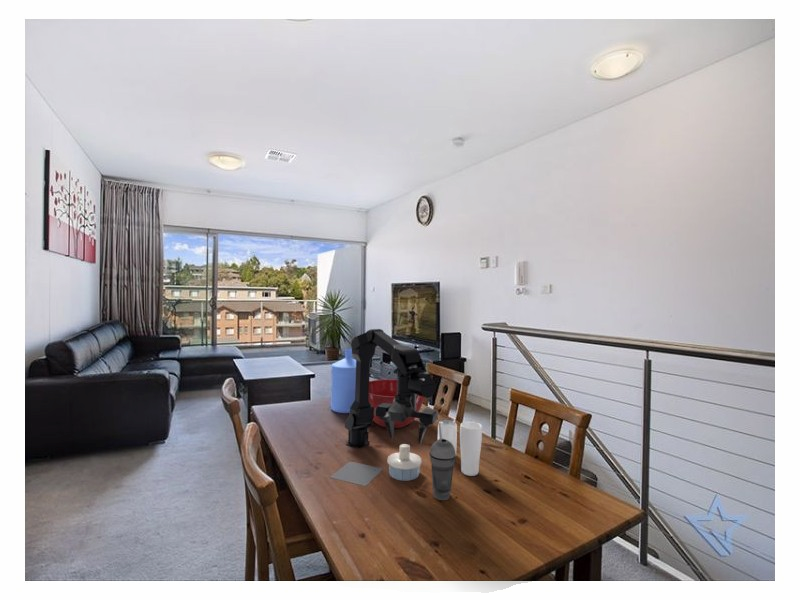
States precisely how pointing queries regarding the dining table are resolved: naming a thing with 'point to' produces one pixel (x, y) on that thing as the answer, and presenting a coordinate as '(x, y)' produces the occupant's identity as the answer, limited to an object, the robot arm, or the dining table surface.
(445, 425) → the can
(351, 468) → the mat
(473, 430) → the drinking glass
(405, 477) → the bowl
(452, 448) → the beverage cup
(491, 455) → the dining table surface
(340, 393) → the water jug
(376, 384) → the mixing bowl
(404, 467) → the lid
